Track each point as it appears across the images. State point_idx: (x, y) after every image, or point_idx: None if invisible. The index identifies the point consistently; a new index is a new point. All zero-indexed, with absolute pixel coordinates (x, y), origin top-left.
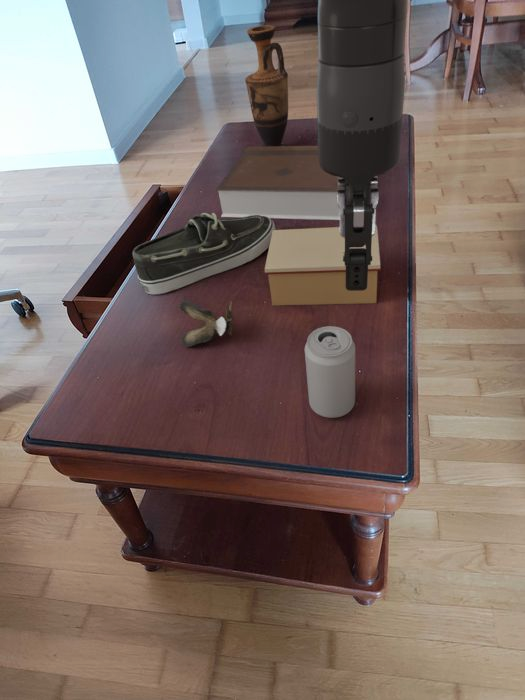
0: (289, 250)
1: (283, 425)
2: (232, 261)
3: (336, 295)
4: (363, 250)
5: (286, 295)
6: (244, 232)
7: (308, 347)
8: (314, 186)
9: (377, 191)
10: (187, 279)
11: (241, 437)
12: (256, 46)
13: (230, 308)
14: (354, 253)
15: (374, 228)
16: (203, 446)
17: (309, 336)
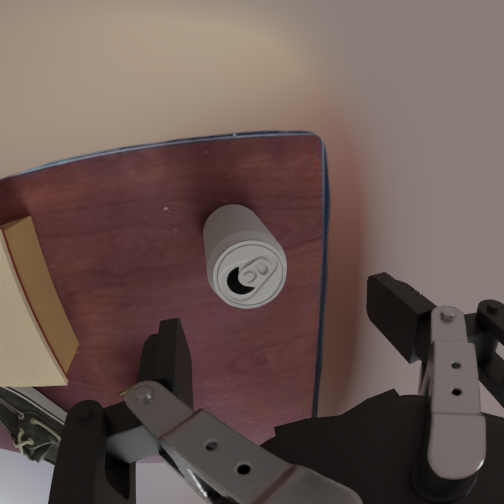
0: (18, 363)
1: None
2: (40, 400)
3: (41, 273)
4: (476, 337)
5: (66, 336)
6: (6, 405)
7: (269, 301)
8: None
9: (482, 460)
10: None
11: (295, 311)
12: None
13: (126, 391)
14: (493, 351)
15: (475, 353)
16: (309, 338)
17: (243, 306)
